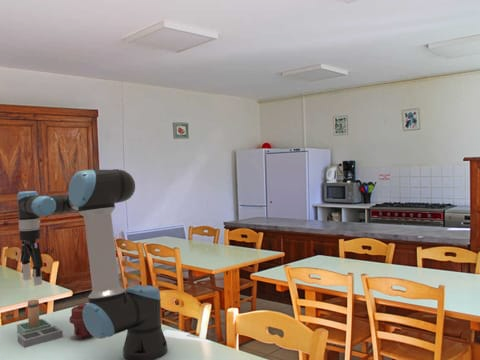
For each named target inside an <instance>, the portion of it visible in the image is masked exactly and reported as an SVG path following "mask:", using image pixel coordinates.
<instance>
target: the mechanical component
mask: <svg viewBox="0 0 480 360" xmlns="http://www.w3.org/2000/svg"><path fill="white" fill-rule="evenodd" d="M87 304H88V303H81V304H78V305H76V306H74V307H72V308H71V316H69V318H68V319H69V323H71V324H73V326H74V328H73V329H74V330H73V334H74V335H75V336H76V337H77V339H78V340H79V341H80V340H81V341H82V340H83V339H86V338H89V337H93V336H92V335H91V334H90V332H89V331H88V330H87V328H86V326H85V324H84V321H83V314H82V313H83V308H84V306H85V305H87Z"/></svg>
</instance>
